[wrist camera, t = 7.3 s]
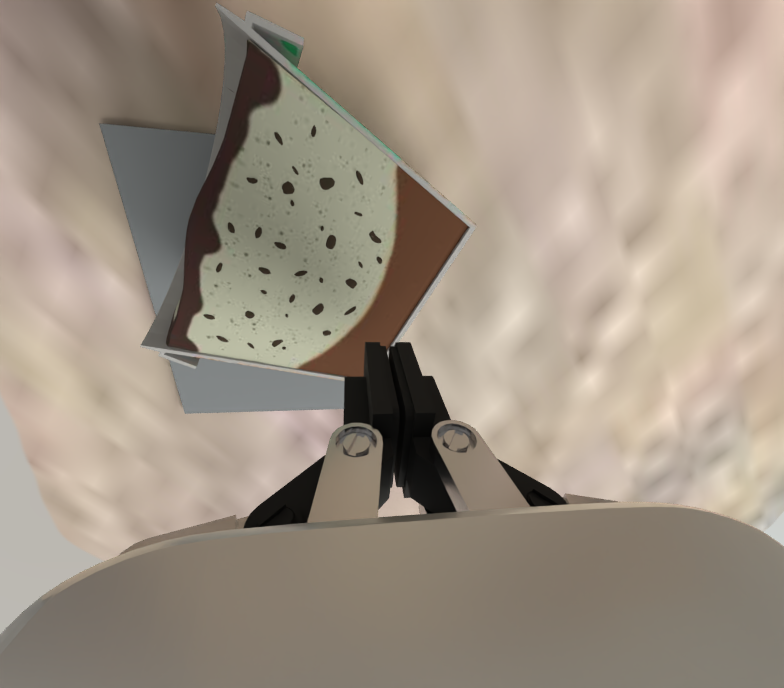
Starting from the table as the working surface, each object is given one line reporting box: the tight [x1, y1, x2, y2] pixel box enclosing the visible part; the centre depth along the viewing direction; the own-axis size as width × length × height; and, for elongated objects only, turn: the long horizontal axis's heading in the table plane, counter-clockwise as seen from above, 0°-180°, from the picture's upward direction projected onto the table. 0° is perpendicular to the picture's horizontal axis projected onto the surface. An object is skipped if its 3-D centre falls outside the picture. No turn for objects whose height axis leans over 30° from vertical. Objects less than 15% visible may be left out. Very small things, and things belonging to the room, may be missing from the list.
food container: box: [140, 2, 477, 381], centre depth 15 cm, size 12×6×10 cm
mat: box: [99, 123, 344, 414], centre depth 18 cm, size 12×16×1 cm
